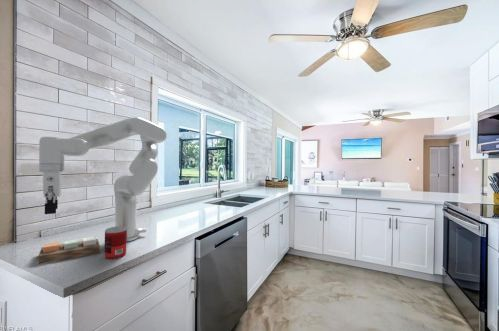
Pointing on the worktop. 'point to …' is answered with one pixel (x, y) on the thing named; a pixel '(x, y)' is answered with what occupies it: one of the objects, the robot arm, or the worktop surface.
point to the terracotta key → (51, 247)
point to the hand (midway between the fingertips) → (51, 211)
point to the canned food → (115, 242)
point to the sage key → (71, 244)
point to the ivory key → (89, 241)
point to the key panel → (68, 252)
